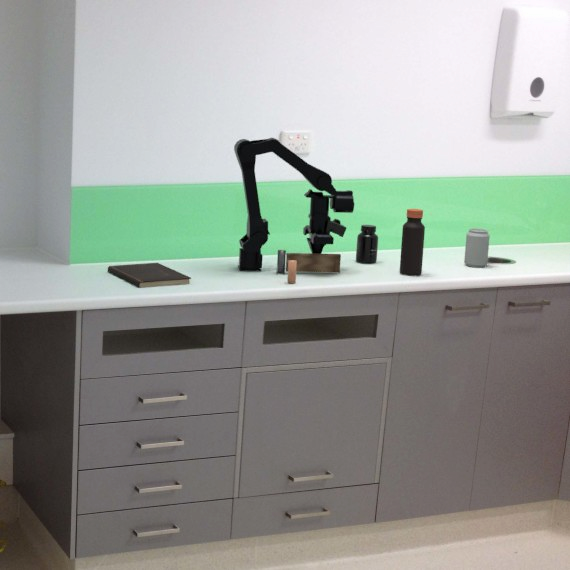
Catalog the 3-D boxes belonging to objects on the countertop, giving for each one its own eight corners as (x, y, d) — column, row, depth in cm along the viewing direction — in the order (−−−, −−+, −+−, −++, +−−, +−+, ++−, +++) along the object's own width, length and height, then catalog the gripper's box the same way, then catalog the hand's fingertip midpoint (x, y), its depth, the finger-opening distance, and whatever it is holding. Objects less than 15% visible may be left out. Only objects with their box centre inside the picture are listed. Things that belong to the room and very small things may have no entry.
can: (461, 266, 348) (464, 229, 346) (466, 262, 355) (469, 226, 353) (484, 268, 346) (487, 232, 343) (489, 265, 353) (492, 229, 350)
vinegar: (408, 270, 337) (413, 207, 332) (425, 274, 332) (430, 210, 328) (395, 273, 332) (399, 209, 328) (412, 277, 327) (416, 212, 323)
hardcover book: (157, 270, 323) (157, 262, 322) (191, 285, 304) (191, 277, 303) (107, 273, 315) (107, 266, 314) (138, 289, 295) (138, 281, 295)
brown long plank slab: (286, 271, 323) (287, 254, 322) (285, 270, 325) (286, 252, 324) (339, 272, 326) (340, 254, 324) (338, 271, 327) (339, 253, 326)
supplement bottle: (375, 264, 344) (377, 228, 341) (354, 263, 345) (356, 226, 343) (377, 261, 350) (380, 224, 348) (357, 259, 352) (359, 223, 349)
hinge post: (277, 273, 322) (278, 251, 321) (276, 272, 325) (277, 249, 323) (285, 274, 323) (286, 251, 321) (284, 272, 325) (285, 249, 324)
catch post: (288, 283, 310) (289, 261, 308) (286, 281, 312) (287, 259, 311) (296, 283, 310) (297, 261, 309) (294, 281, 312) (296, 260, 311)
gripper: (351, 217, 319) (348, 268, 323) (338, 208, 337) (336, 256, 341) (314, 216, 318) (312, 268, 321) (304, 207, 336) (301, 256, 339)
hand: (316, 262), depth 330 cm, fingers closed
